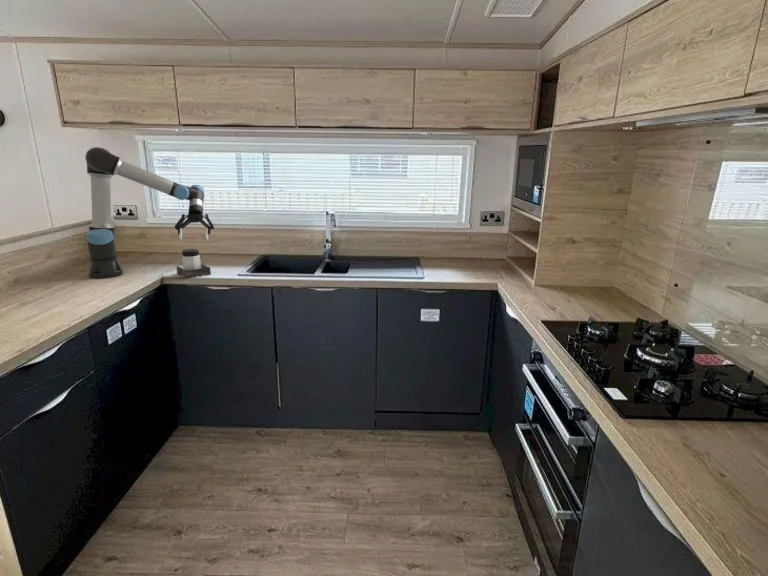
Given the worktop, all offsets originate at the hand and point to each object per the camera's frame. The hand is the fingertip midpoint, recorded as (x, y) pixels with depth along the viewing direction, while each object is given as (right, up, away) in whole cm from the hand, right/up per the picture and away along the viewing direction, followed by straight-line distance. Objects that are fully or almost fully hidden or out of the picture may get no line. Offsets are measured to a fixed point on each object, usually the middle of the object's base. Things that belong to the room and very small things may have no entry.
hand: (193, 239), depth 237 cm
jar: (+2, -19, -5) cm, 19 cm away
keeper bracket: (+2, -20, -5) cm, 20 cm away
